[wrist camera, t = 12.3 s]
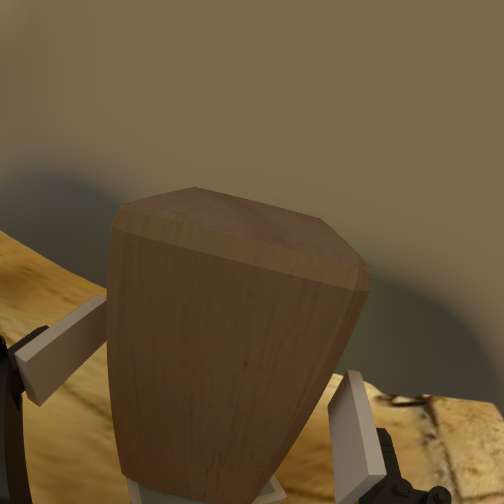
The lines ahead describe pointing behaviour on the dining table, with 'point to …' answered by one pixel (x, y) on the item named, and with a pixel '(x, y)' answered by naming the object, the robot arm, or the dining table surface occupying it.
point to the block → (221, 337)
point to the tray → (153, 500)
